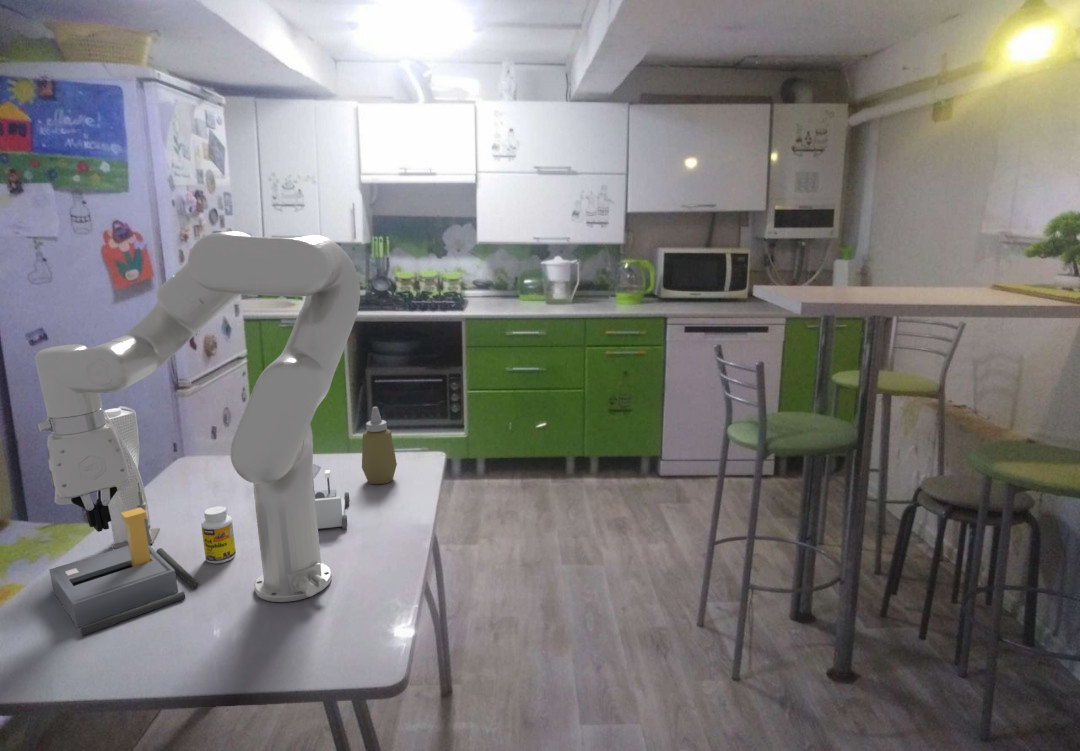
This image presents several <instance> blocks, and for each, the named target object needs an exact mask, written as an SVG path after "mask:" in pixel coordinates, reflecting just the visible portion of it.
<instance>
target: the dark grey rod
mask: <svg viewBox="0 0 1080 751" xmlns="http://www.w3.org/2000/svg"><path fill="white" fill-rule="evenodd" d="M155 551H156V552H157V553H158V554H159V555H160V556H161V557H162V558H163V559H164V560H165V561H166V562H167V563H168V564H169V565H170V566H171V567H172V568H173V569H174V570H175V573H176V575H178V576H180V578H182V580H184V582H185V583H186V584H188V585H189V586H190V587H191V588H192V589H197V588H198V587H199V582H198V581H197V580H196V579H195V578H194V577H193V576H192V575H191V574H190V573H189V572H187V571H186V569H184V568H183V567H182V565H180V564H179V563H178V562H177V561H176V560H175V559H174V558H173V557H172V556H170V555H169V554H168V552H166V551H165V549H163V548H162V547H159V548H157V549H156V550H155Z"/></svg>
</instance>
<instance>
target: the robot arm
mask: <svg viewBox="0 0 1080 751" xmlns="http://www.w3.org/2000/svg"><path fill="white" fill-rule="evenodd" d="M187 259H188V260H187V263H186V264H184V265H183V266H182V267H181V268H180V269H178V271H176V272H175V273H174V274H173V275H172V276H171V277H170V278H168V279H167V280H166V281H165V282H164V283H162V285H160V286H159V288H158V289H157V291H156V298H157V302H156V304H155V305H154V307H153V309H151V310H150V311H149V313H147V315H146V316H145V317H144V318H142V319H141V320H140V321H139V322H138V323H137V324H136V325H134V327H132V328H131V329H130V330H129V331H128V332H126V333H125V334H124V335H122V336H120V337H117V338H115V339H112V340H109V341H107V342H104V343H101V344H99V345H96V346H92V347H87V346H86V345H83V344H77V343H76V344H65V345H64V344H63V345H55V346H52V347H48V348H43V349H41V350H39V351H38V352H37V353H36V355H35V357H34V358H35V360H34V361H35V362H34V363H35V367H36V371H37V372H36V373H37V376H38V381H39V385H40V388H41V394H42V398H43V403H44V406H45V409H46V410H45V411H46V415H47V416H46V419H45V421H43V422H39V423H37V424H38V425H37V426H38V429H39V432H40V433H42V432H49V433H51V434H49V435H48V436H47V440H46V441H47V444H46V445H47V459H48V468H49V474H50V480H51V483H52V488H53V490H54V503H55V504H56V505H58V506H64V505H66V506H67V505H75V506H78V507H80V508H83V509H85V513H86V518H87V523H88V526H89V527H90V528H93V529H95V531H96V532H97V533H99V532H102V531H103V530H109V529H110V526H109V523H111V516H110V512H109V506H108V505H109V504H110V500H111V499H112V497H113V496H114V495H115V493H116V492H117V491H118V490H121V489H123V488H125V487H127V486H128V485H129V484H130V481H129V479H128V470H127V466H126V462H125V458H124V455H123V451H122V448H121V445H120V442H119V439H118V437H117V434H116V432H115V429H114V427H113V425H112V424H109V423H106V420H105V416H104V411H105V410H104V408H103V402H102V397H101V394H113V393H116V392H120V391H122V390H125V389H126V388H129V387H130V386H132V385H134V384H135V383H137V382H139V381H141V380H143V379H145V378H147V377H149V376H150V375H151V374H153V373H154V372H156V371H157V370H158V369H159V368H161V367H162V366H163V365H164V364H165V363H166V362H167V361H169V359H171V358H172V357H173V356H175V354H177V353H178V351H180V350H182V348H183V347H184V346H185V345H186V344H187V343H188V342H189V341H190V340H191V339H192V338H193V337H195V336H196V335H197V334H199V332H200V331H201V330H202V329H203V328H204V327H205V326H206V325H207V324H208V323H210V321H212V320H213V319H214V318H215V317H216V316H217V315H218V314H219V313H221V312H222V311H223V310H224V309H225V308H227V306H228V305H230V304H231V303H232V302H233V301H235V299H237V298H238V297H239V296H240V295H245V296H246V295H249V296H251V295H252V296H269V297H270V296H273V297H292V298H295V297H305V298H304V302H303V305H302V307H301V309H300V311H299V312H298V314H297V317H296V319H295V321H294V324H293V328H292V330H291V332H290V336H289V337H288V339H287V342H286V344H285V346H284V348H283V349H282V352H281V354H280V355H279V356H278V357H277V358H276V359H274V361H272V362H271V363H270V364H268V365H267V367H265V368H264V369H263V371H262V372H261V373H260V375H259V377H258V378H257V380H256V382H255V384H254V385H253V388H252V390H251V391H252V392H251V393H250V396H249V399H248V401H247V403H246V406H245V408H244V411H243V413H242V416H241V419H240V421H239V424H238V425H237V428H236V430H235V433H234V435H233V438H232V441H231V445H230V450H229V451H230V452H229V454H230V461H231V464H232V467H233V469H234V470H235V472H236V473H237V474H238V476H239V477H241V478H242V479H244V480H245V481H247V482H249V483H252V484H253V496H254V505H255V516H256V523H257V525H256V526H257V533H258V540H259V541H258V542H259V550H260V551H259V552H260V559H261V560H260V561H261V568H262V573H261V574H260V575H259V576H258V577H257V578H256V580H255V582H254V584H253V586H254V592H255V595H256V596H257V597H259V598H260V599H261V600H265V601H267V602H272V603H288V602H289V603H290V602H295V601H300V600H304V599H307V598H310V597H313V596H314V595H317V594H318V593H320V592H322V591H323V590H324V589H326V588H327V587H328V586H329V585H330V583H331V581H332V570H331V568H330V567H329V566H328V565H326V564H325V563H323V562H322V559H321V549H320V536H319V529H318V525H317V514H316V503H315V491H316V490H315V482H314V479H315V478H314V479H313V464H314V461H313V460H314V455H313V454H314V452H313V451H314V440H313V438H314V437H313V430H312V426H311V422H312V420H313V418H314V415H315V414H316V411H317V409H318V407H319V406H320V404H321V403H322V401H323V400H324V399H325V398H326V397H327V395H328V393H329V391H330V389H331V386H332V381H333V379H334V376H335V373H336V370H337V368H338V365H339V364H340V361H341V358H342V355H343V353H344V351H345V348H346V345H347V342H348V339H349V337H350V334H351V332H352V330H353V327H354V324H355V323H356V319H357V315H358V311H359V307H360V303H361V302H360V301H361V300H360V299H361V284H360V279H359V275H358V271H357V269H356V267H355V264H354V262H353V260H351V258H350V257H349V255H348V254H347V253H346V251H345V250H344V249H343V248H342V247H341V246H340V245H339V244H338V243H336V242H335V240H332V239H330V238H329V237H325V236H323V235H317V234H310V235H303V236H299V237H269V236H251V235H250V234H247V233H245V232H242V231H238V230H229V231H221V232H213V233H209V234H206V235H205V236H202V237H201V238H199V239H198V240H197V241H196V242H195V243H194V244H193V246H192V248H191V249H190V252H189V254H188V258H187ZM103 410H104V411H103ZM92 493H96V497H97V499H96V502H95V503H94V502H93V500H92V497H91V494H92Z"/></svg>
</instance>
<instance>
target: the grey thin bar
mask: <svg viewBox="0 0 1080 751" xmlns="http://www.w3.org/2000/svg"><path fill="white" fill-rule="evenodd" d="M184 599H186V594H185V591H180V592H176V593H173V594H170V595H168V596H165V597H162V598H159V599H156V600H154V601H151V602H148V603H145V604H142V605H140V606H137V607H134V608H131V609H128V610H126V611H123V612H120V613H117V614H114V615H112V616H109V617H106V618H105V619H104V618H103V619H100V620H98V621H95V622H92V623H89V624H86V625H84V626H81V627H79V628H80V634H81V636H85V635H88V634H90V633H93V632H96V631H99V630H102V629H104V628H107V627H110V626H113V625H115V624H116V625H117V624H119V623H121V622H124V621H127V620H130V619H132V618H135V617H137V616H141V615H143V614H146V613H149V612H151V611H154V610H156V609H159V608H162V607H165V606H168V605H171V604H174V603H176V602H179V601H181V600H184Z"/></svg>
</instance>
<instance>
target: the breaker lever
mask: <svg viewBox="0 0 1080 751" xmlns="http://www.w3.org/2000/svg"><path fill="white" fill-rule="evenodd" d="M121 519H122V520H123V521H124V522H125V524H126V530H127V536H128V543H129V549H130V555H131V562H132V566H133V567H134V566H137V565H140V564H144V563H147V562H150V554H149V548H148V541H147V535H146V528H145V522H144V519H147V514H146V511H144V510H143V509H142V508H137V509H133V510H130V511H126V512H122V513H121Z"/></svg>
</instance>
